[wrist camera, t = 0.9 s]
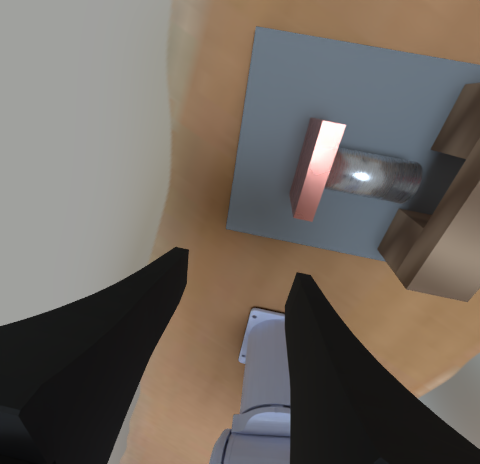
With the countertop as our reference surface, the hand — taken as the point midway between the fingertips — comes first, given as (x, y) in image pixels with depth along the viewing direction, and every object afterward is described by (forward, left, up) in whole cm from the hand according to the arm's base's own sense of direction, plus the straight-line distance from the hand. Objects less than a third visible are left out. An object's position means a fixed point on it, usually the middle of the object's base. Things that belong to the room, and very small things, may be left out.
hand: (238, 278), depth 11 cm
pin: (+4, -6, -10) cm, 12 cm away
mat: (+4, -8, -10) cm, 14 cm away
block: (+4, -13, -10) cm, 17 cm away
